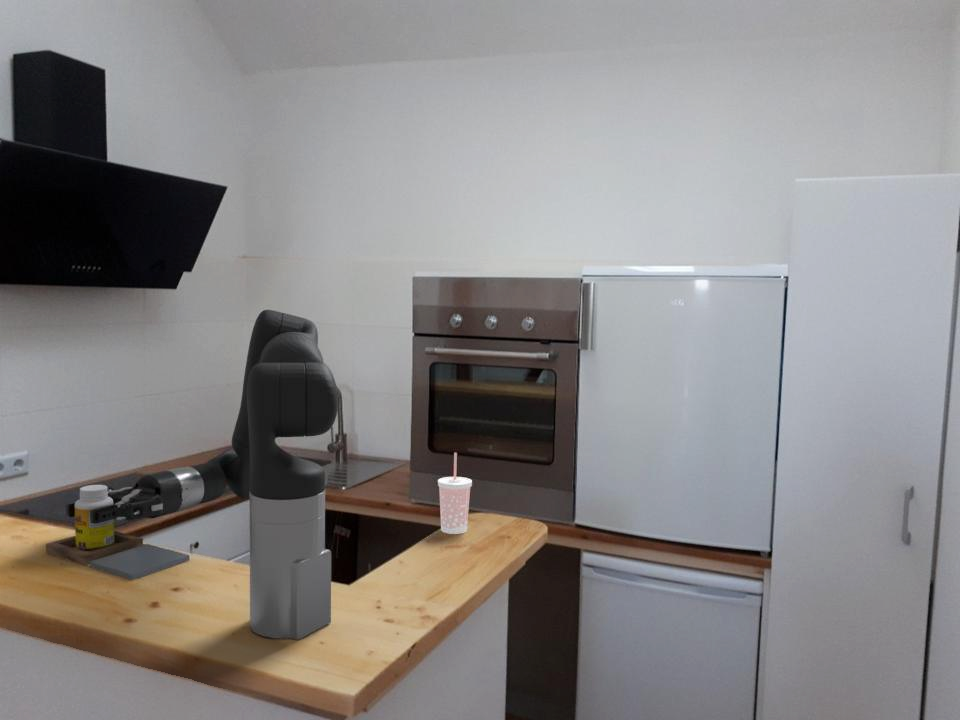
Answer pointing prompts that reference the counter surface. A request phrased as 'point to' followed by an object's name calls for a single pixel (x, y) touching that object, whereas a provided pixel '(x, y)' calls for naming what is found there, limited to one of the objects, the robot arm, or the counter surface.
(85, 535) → the supplement bottle
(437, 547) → the counter surface
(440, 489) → the beverage cup
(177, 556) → the slate coaster
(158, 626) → the counter surface
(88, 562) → the pocket frame
